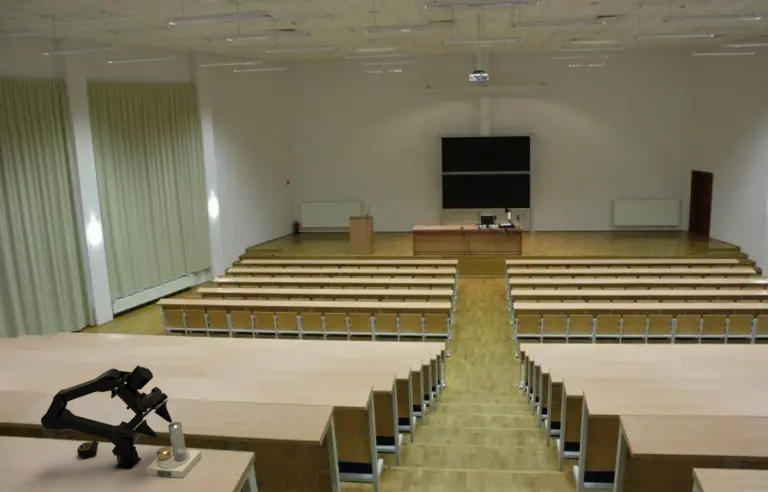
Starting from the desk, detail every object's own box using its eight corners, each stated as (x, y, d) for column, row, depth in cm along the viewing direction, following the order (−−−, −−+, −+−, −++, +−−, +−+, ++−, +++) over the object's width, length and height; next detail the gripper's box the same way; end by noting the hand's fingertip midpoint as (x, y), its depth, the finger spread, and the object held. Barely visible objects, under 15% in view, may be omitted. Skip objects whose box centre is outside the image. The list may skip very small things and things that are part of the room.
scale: (146, 475, 206) (145, 467, 205) (167, 454, 218) (166, 446, 217) (182, 478, 202) (180, 470, 202) (201, 457, 214) (200, 449, 213)
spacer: (171, 461, 207) (165, 428, 204) (178, 454, 211) (172, 421, 208) (182, 462, 206) (176, 428, 203) (189, 454, 210) (183, 422, 207)
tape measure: (97, 457, 220) (95, 448, 219) (77, 461, 218) (75, 452, 217) (99, 447, 226) (97, 438, 225) (80, 451, 224) (78, 443, 223)
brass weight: (155, 460, 209) (153, 454, 208) (163, 452, 213) (161, 446, 213) (166, 461, 207) (165, 455, 207) (174, 453, 212) (173, 447, 211)
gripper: (128, 399, 196) (161, 432, 197) (160, 372, 213) (191, 403, 214) (110, 417, 200) (143, 449, 200) (143, 389, 217) (173, 419, 218)
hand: (164, 429), depth 208 cm, fingers open, 9 cm apart
